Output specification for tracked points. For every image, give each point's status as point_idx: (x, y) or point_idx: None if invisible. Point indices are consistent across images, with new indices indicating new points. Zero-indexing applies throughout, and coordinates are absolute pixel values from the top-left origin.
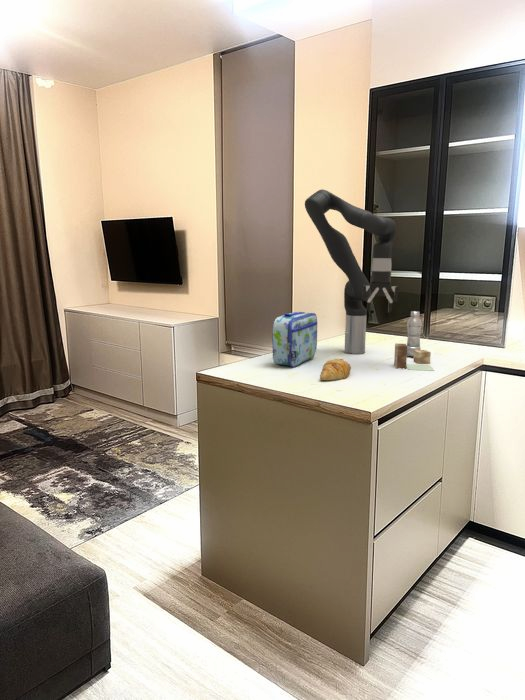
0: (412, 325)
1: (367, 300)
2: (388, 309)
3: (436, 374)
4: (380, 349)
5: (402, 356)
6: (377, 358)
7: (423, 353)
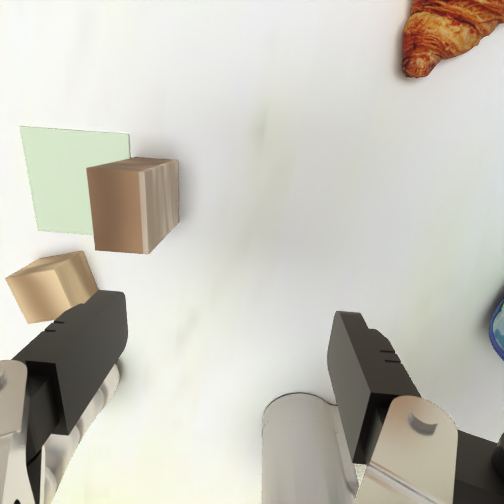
0: None
1: (453, 441)
2: (105, 306)
3: (11, 50)
4: (201, 463)
5: (132, 163)
6: (229, 332)
7: (38, 270)
